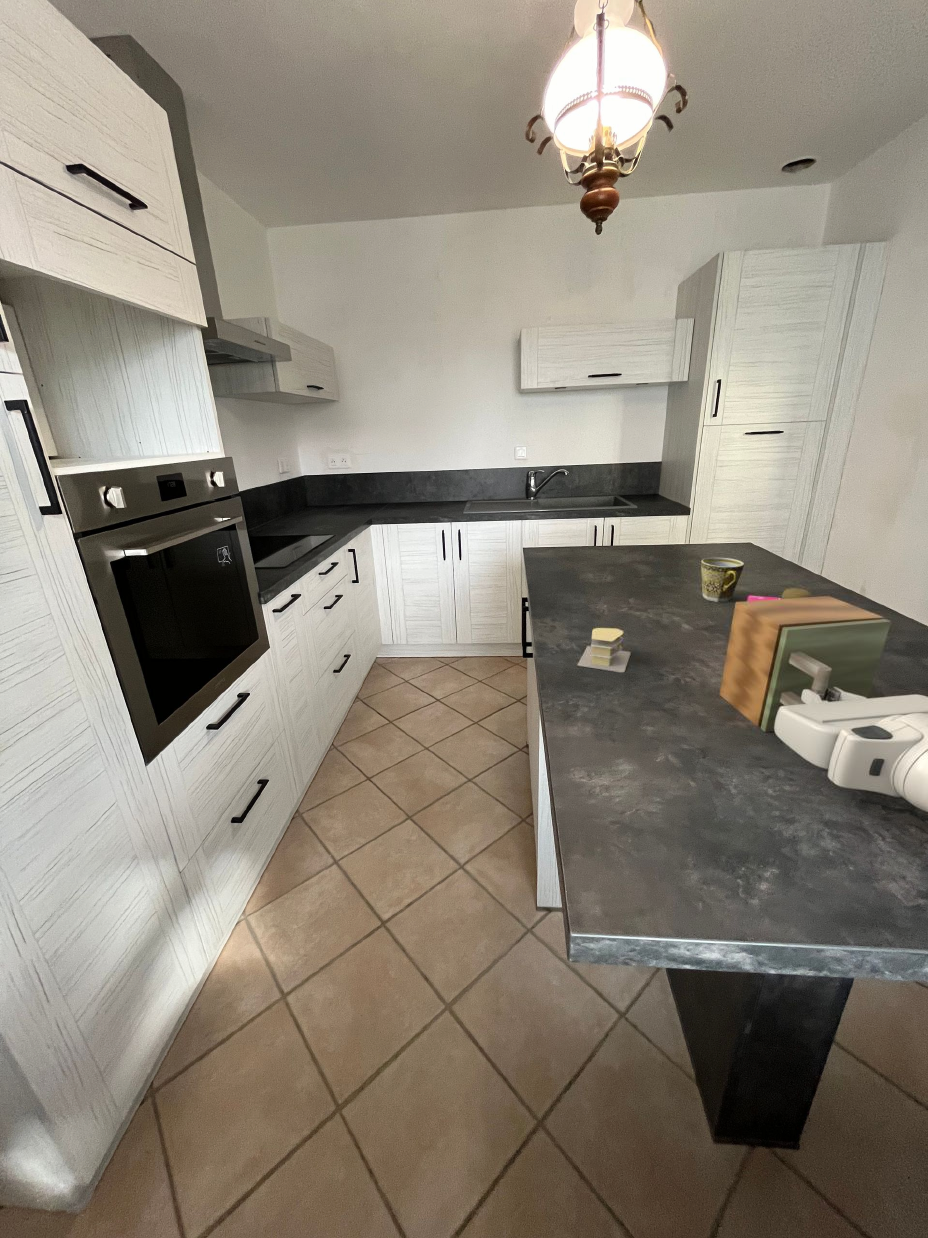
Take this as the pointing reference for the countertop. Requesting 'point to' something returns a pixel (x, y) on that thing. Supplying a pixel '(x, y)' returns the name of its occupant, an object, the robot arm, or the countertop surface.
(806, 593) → the olive rounded oblong
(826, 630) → the door
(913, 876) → the countertop surface
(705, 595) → the ceramic cup
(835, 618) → the cupboard
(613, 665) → the stacked layers on plate
